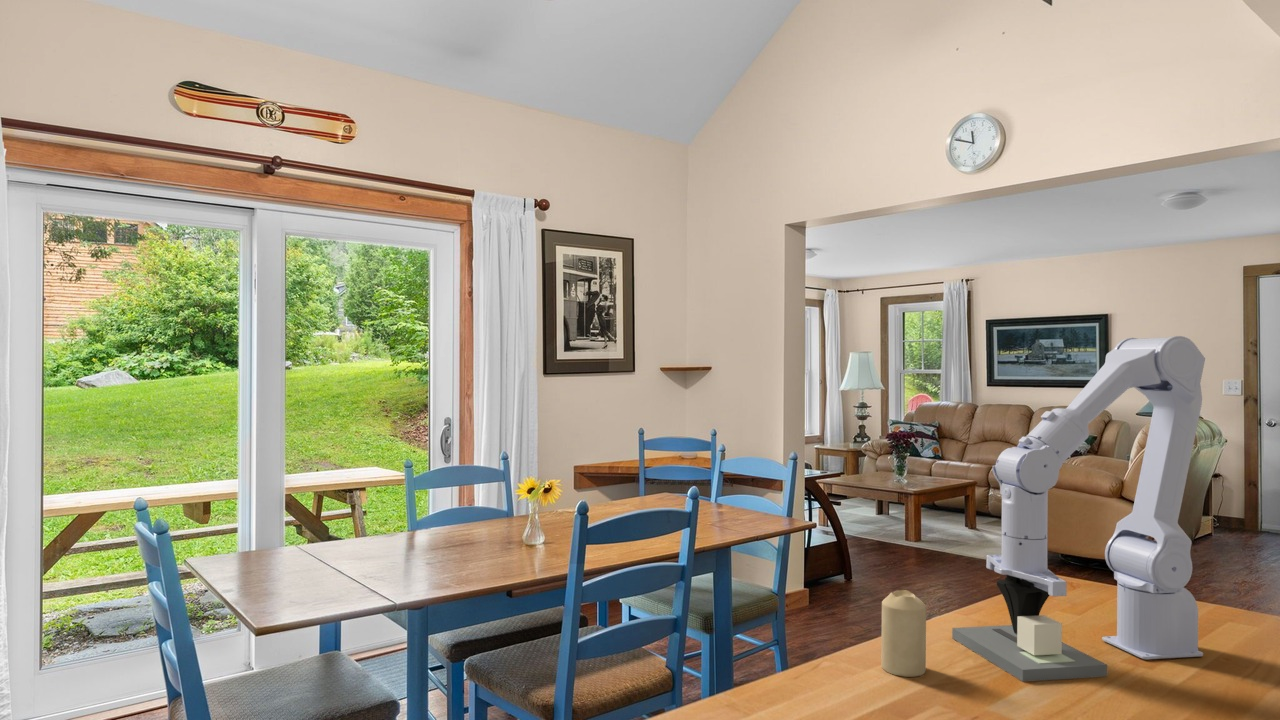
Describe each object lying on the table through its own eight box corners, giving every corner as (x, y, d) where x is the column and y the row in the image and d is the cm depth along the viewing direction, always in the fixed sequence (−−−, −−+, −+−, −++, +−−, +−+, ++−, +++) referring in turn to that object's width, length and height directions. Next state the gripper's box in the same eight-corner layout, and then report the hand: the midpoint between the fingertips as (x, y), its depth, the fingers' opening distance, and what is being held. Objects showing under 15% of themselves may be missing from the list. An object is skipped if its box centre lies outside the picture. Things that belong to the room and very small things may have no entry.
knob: (1043, 644, 108) (1044, 615, 108) (1061, 653, 105) (1061, 623, 105) (1017, 646, 107) (1017, 616, 107) (1034, 655, 104) (1034, 624, 104)
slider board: (1026, 634, 118) (1026, 623, 118) (1107, 676, 102) (1107, 663, 102) (952, 638, 116) (952, 627, 116) (1022, 681, 100) (1022, 668, 100)
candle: (928, 679, 101) (929, 600, 101) (883, 675, 102) (884, 597, 102) (922, 663, 106) (922, 588, 106) (879, 659, 107) (879, 585, 107)
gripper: (967, 525, 116) (966, 618, 116) (1032, 548, 102) (1031, 654, 101) (1011, 524, 117) (1010, 616, 117) (1081, 546, 103) (1080, 651, 103)
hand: (1023, 634), depth 109 cm, fingers closed
